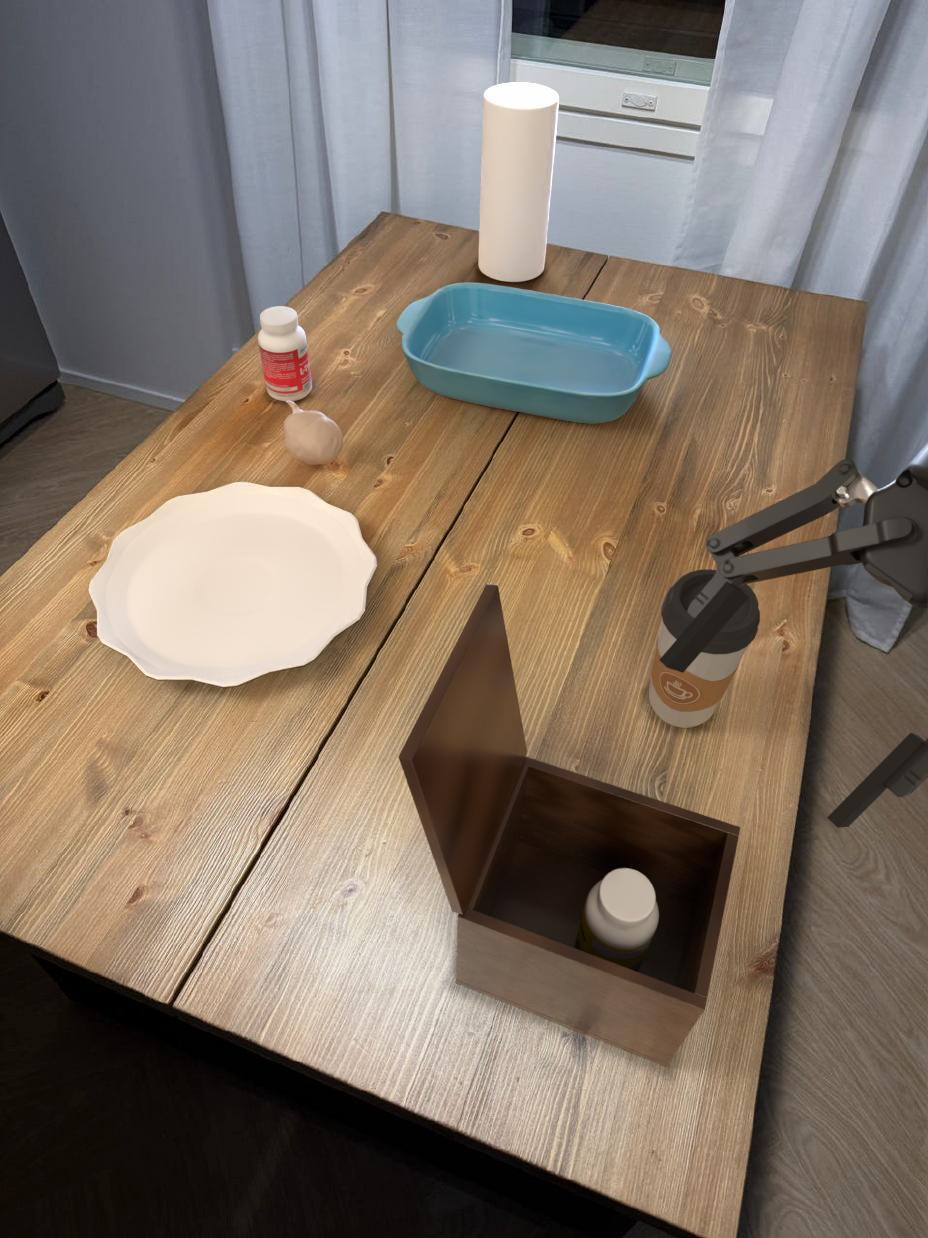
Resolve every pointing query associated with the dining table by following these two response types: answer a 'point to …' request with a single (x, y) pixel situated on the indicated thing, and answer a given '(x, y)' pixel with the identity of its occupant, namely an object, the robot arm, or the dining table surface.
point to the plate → (232, 584)
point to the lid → (467, 750)
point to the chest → (555, 898)
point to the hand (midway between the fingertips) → (748, 739)
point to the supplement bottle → (619, 918)
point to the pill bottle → (284, 354)
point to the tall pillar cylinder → (516, 179)
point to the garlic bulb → (311, 436)
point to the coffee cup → (713, 669)
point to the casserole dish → (532, 351)
